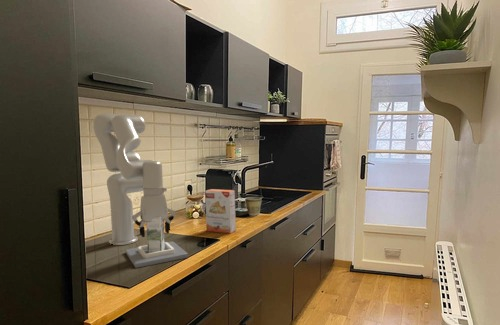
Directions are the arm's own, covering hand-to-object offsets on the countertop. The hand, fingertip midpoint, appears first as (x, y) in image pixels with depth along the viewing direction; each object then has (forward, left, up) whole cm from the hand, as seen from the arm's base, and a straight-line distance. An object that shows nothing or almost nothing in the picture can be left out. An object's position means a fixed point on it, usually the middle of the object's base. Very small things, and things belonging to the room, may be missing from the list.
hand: (155, 234), depth 137 cm
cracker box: (-18, +37, -9) cm, 42 cm away
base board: (0, 0, -8) cm, 8 cm away
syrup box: (0, 0, -7) cm, 7 cm away
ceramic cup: (-43, +71, -9) cm, 83 cm away
